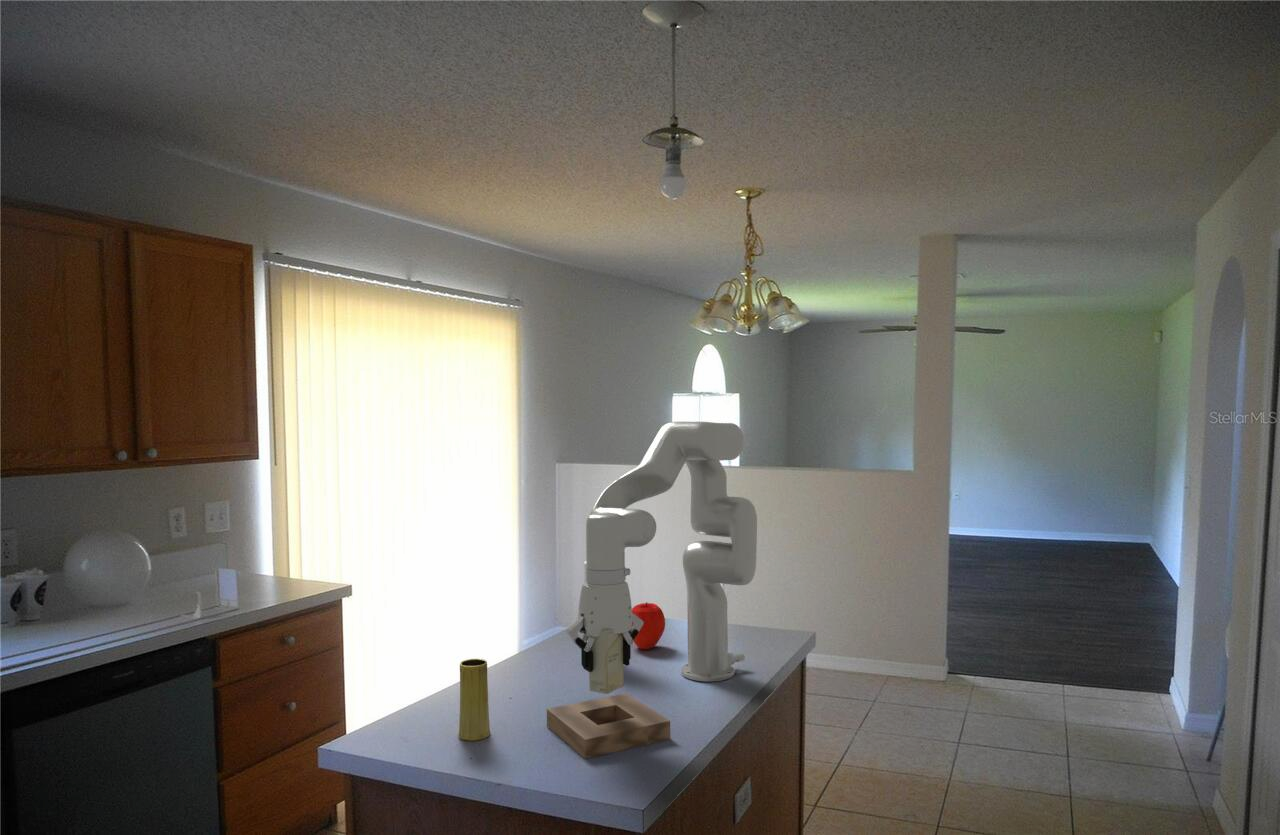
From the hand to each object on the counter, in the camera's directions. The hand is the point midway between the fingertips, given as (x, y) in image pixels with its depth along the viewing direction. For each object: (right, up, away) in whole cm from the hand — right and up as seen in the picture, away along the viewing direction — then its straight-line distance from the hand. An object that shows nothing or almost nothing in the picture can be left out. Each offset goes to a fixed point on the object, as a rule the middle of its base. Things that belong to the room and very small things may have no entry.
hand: (606, 666), depth 165 cm
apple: (+8, -12, +57) cm, 59 cm away
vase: (-26, -14, 0) cm, 29 cm away
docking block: (0, -13, 0) cm, 13 cm away
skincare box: (0, -5, 0) cm, 5 cm away
